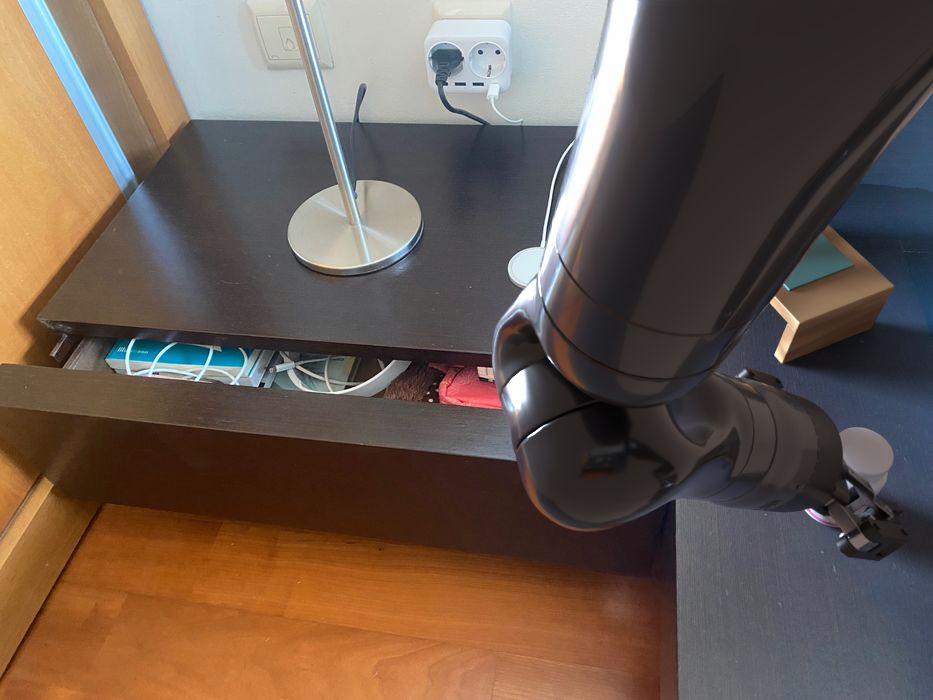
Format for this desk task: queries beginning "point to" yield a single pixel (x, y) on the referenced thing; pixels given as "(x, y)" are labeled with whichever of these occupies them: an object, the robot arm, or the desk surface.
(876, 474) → the pill bottle
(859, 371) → the desk surface
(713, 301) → the robot arm
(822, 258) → the chair
